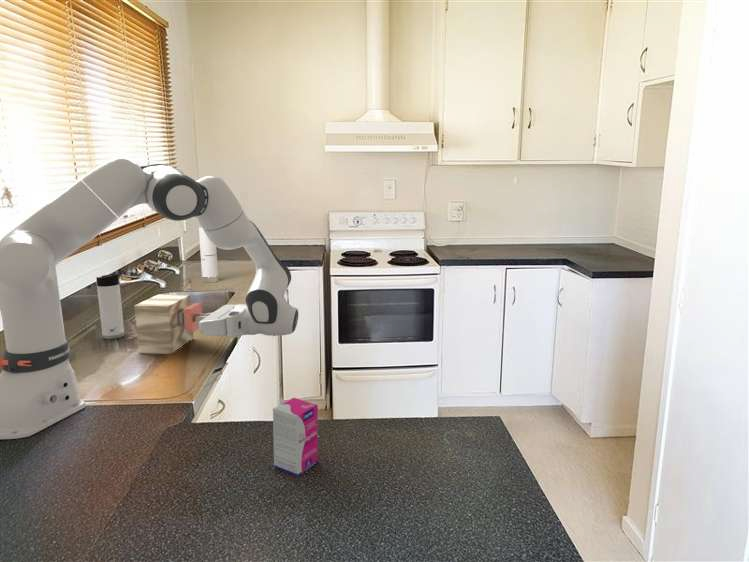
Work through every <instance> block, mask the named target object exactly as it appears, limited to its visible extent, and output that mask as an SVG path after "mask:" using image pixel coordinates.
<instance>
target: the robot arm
mask: <svg viewBox="0 0 749 562" xmlns="http://www.w3.org/2000/svg"><path fill="white" fill-rule="evenodd" d="M141 204H142V205H144V204H146V205H148V207H149V208H150V209H151V210H152V211H154V212H155V213H157V214H158V215H160V216H161V217H163V218H165V219H168V220H169V221H173V222H174V221H176V222H178V221H179V222H180V221H186V220H189V219H191V218H196V219H197V221H198V222H199V224H200V227H202V228H203V230H204V232H205V234H206V235H207V237H208V238H209V240H210V241H211V242H212V243H213V244H214V245H215V246H216V248H218V249H221V250H226V251H227V250H228V251H229V250H231V251H232V250H236V249H239V248H240V249H241V248H244V250H245V252H246V253H247V254H248V256H249V257H250V258H251V260H252V263H254V265H255V276H254V278H253V281H252V283H250V284H251V285H250V286H249V288H248V291H247V292H246V297H245V304H244V303H237V304H224V305H222V306H221V307H219V308H218V309H216V310H215V311H213V312H207V313H202V314H199V315H197V316H196V317H195V321H196V322H199V329H198V330H199V331H198V332H199V333H200V334H201V335H203V336H204V335H205V336H211V337H212V336H213V337H227V338H228V339H235V338H238V337H242V336H247V335H248V336H255V335H264V336H268V337H270V336H271V337H272V336H273V337H274V336H275V337H276V336H280V337H282V336H288V335H291V334H293V333H294V332H295V331H296V329H297V325H298V321H299V309H298V308H296V307H294V306H292V305H291V304H290V303H289V302H288V300H287V299H286V298H285V295H286V291H287V289H288V288H289V285H290V284H291V282H292V273H291V271H290V269H289V267H288V266H287V265H286V264H285V263H284V262H283V261H281V260H280V258H278V256H277V255H276V254H275V253H274V251H273V249H272V248H271V246H270V244H269V243H268V241H267V240H266V238H265V236H264V235H263V233H262V232H261V231H260V230H259V228H258V227H257V225H256V224H255V223H254V222H253V221H252V220H250V219H249V217H248V216H247V215H246V212H245V211H244V209H243V207H242V206H241V204H240V202H239V200H238V198H237V197H236V195H235V194H234V192H233V191H232V190H231V188H230V187H229V186H228V184H227V183H226V182H225V181H224V180H223V179H222V178H221V177H220V176H216V175H215V176H214V175H207V176H204V177H200V178H199V179H198V180H195V179H194V178H192V177H190V176H188V175H186V173H184V172H183V171H181V170H180V169H178V168H175V167H173V166H170V165H168V164H163V163H156V164H154V163H153V164H148V165H142V166H140V164H137V163H136V161H134V160H131V159H130V158H128V157H125V156H118V157H114V158H112V159H110V160H108V161H106V162H105V163H102V164H100V165H99V166H97V167H96V168H93V169H92V170H91V171H89V172H88V173H86V174H84V175H83V176H82V177H81V178H79V179H78V180H77V181H76V182H75V183H73V184H72V185H70V186H69V187H67V189H65V190H64V191H62V192H61V193H60V194H59V195H58V196H56V197H55V198H54V199H52V200H51V201H50V202H48V203H47V204H45V205H44V206H43V207H41V208H40V209H39V210H38V211H36V212H35V213H33V214H32V215H31V216H29V217H28V218H27V219H25V220H24V221H23V222H22V223H20V224H19V225H18V226H16V227H15V228H13V229H12V230H11V231H10V232H8V233H7V234H6V235H5V236H3V237H2V238H1V240H0V316H1V320H2V321H1V322H2V328H3V334H4V340H5V341H4V342H5V348H6V349H5V350H4V352H3V353H4V354H3V357H1V358H0V369H1V370H2V371H1V372H0V440H13V439H14V440H15V439H22V438H28V437H30V436H32V435H35V434H36V433H39V432H40V431H42V430H44V429H46V428H48V427H50V426H53V425H54V424H56V423H58V422H59V421H61V420H64V419H65V418H67V417H69V416H71V415H73V414H75V413H78V412H79V411H81V410H83V409H85V408H86V406H87V405H86V402H85V400H84V399H82V397H81V393H80V388H79V385H78V381H77V380H78V379H77V377H76V372H75V370H74V369H73V367H72V365H71V363H70V361H69V358H70V346H69V341H68V340H67V339H66V335H65V333H66V332H65V327H64V318H63V317H64V316H63V310H62V304H61V297H60V290H59V284H58V283H59V282H58V276H57V269H56V266H57V265H59V263H61V262H62V261H64V260H66V259H67V257H70V256H71V255H72V254H73V253H75V252H77V251H78V250H79V249H80V248H82V247H83V246H85V245H86V244H88V243H90V242H91V241H93V240H94V239H95V238H96V237H97V236H98V235H100V234H102V232H104V231H105V230H106V229H108V228H109V226H112V224H114V222H116V221H117V220H118V219H119V218H121V217H122V216H123V215H124V214H125V213H126V212H128V211H129V209H132V208H133V207H136V206H139V205H141Z"/></svg>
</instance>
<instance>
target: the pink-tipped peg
mask: <svg viewBox="0 0 749 562" xmlns="http://www.w3.org/2000/svg"><path fill="white" fill-rule="evenodd" d="M199 314H203V307H202V302H194V303H191V305H190V306H188V307H187V308H185V309H184V310H180V311H178V312H177V318H178V324H183V325H184V324H186V332H193V333H194V332H196V331H197V330H199V322H196V321H195V317H196V316H197V315H199Z"/></svg>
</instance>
